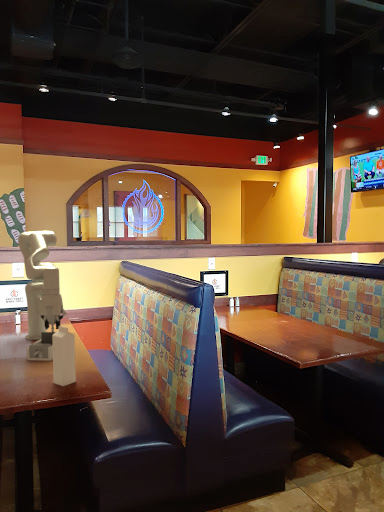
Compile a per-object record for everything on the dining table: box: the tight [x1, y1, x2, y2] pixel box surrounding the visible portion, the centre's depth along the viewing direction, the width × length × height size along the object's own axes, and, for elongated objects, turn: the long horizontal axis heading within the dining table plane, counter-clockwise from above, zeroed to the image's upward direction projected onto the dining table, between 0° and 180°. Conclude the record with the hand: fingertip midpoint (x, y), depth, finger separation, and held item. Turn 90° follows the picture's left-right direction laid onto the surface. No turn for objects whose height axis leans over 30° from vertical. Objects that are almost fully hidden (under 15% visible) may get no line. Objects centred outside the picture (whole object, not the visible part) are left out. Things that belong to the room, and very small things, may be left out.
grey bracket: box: [26, 339, 53, 362], centre depth 199 cm, size 21×11×7 cm, turn 175°
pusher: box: [34, 331, 57, 355], centre depth 193 cm, size 17×8×9 cm, turn 175°
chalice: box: [45, 307, 57, 332], centre depth 203 cm, size 7×7×18 cm
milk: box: [52, 325, 77, 387], centre depth 159 cm, size 6×6×22 cm
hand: (52, 328), depth 203 cm, fingers closed on chalice, 4 cm apart
